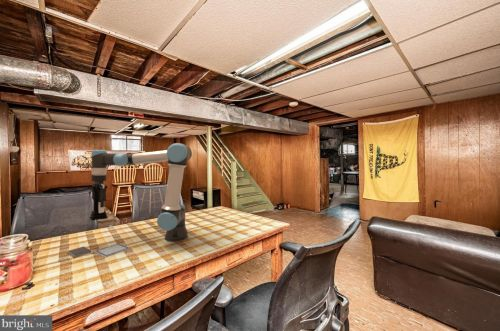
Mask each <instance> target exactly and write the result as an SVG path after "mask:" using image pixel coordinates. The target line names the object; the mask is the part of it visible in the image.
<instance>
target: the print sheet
mask: <svg viewBox="0 0 500 331" xmlns="http://www.w3.org/2000/svg"><path fill="white" fill-rule="evenodd" d="M130 249H132V248H131V247H129V246H127V245H125V244H121V243H119V242H118V243H116V244H112V245H110V246H107V247H106V246H105V247H103V248H100V249H95V250H93V253H95V254H97V255H99V256H100V257H101V256H102V257H103V258H108V257H110V256H113V255H116V254H119V253H122V252H125V251H127V250H130Z"/></svg>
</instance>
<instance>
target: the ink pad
mask: <svg viewBox="0 0 500 331" xmlns="http://www.w3.org/2000/svg"><path fill="white" fill-rule="evenodd" d="M66 252H67V253H66V254H68V255H69V256H70V257H72V258H78V257H82V256H84V255H87V254H90V253H92V249H89V248H88V247H86V246H81V247H77V248H74V249H70V250H67V251H66Z"/></svg>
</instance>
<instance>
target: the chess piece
mask: <svg viewBox="0 0 500 331" xmlns="http://www.w3.org/2000/svg"><path fill="white" fill-rule="evenodd" d="M90 189H91V193H92V192H93V199H92V201H93V204H92V205H93V207H92V208H93V210H92V211H91V213H90V216H89V220H90V221H98V220H104V219H108V218H109V217H108V214H107V212H106V210H105V209H104V212H102V213H99V202H98V201H99V195H98V192H99V191H100V188H98V189H96V187H94V186H92V185H91V186H90ZM106 189H108V186H107V185H106ZM98 190H99V191H98Z"/></svg>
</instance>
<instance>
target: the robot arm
mask: <svg viewBox="0 0 500 331" xmlns="http://www.w3.org/2000/svg"><path fill="white" fill-rule="evenodd" d="M192 156H193V151H192V149H191V147H189V146H188V145H186V144H183V143H180V142H177V143H175V142H174V143H173V144H170V145H169V146H168V148H167V149H166V150H165V149H164V150H156V151H155V150H154V151H147V152H136V153H119V152H118V153H112V152H111V153H109V152H107V150H106V149H92V151H91V157H90V158H91V169H90V171H91V178H90V180H91V182H94V183H92V184H91V186H94V187H96V189H98V188H100V191H99V190H98V191H99V192H98V195H99V201H98V202H99V213H102V212H104V210H105V202H106V201H107V188H106V186H107V184H104V182H106V181H107V166H118V167H122V166H133V165H142V164H152V163H162V162H167V165H168V167H169V171H168V178H167V185H166V191H165V197H164V198H165V200H164V204H163V205H162V206H161V208H160V214H159V215H158V216H157V219H156V224H157V226H158V227H159V229H160V230H162V231H165V233H164V240H165V241H168V242H179V241H183V240H185V239H187V238H188V235H189V234H188V230H187V227H186V205H185V204H180V199H181V192H182V185H183V177H184V172H185V168H186V167H188V162H189V160H190V159H191V157H192ZM91 199H92V200H93V192H92V191H91Z"/></svg>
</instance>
